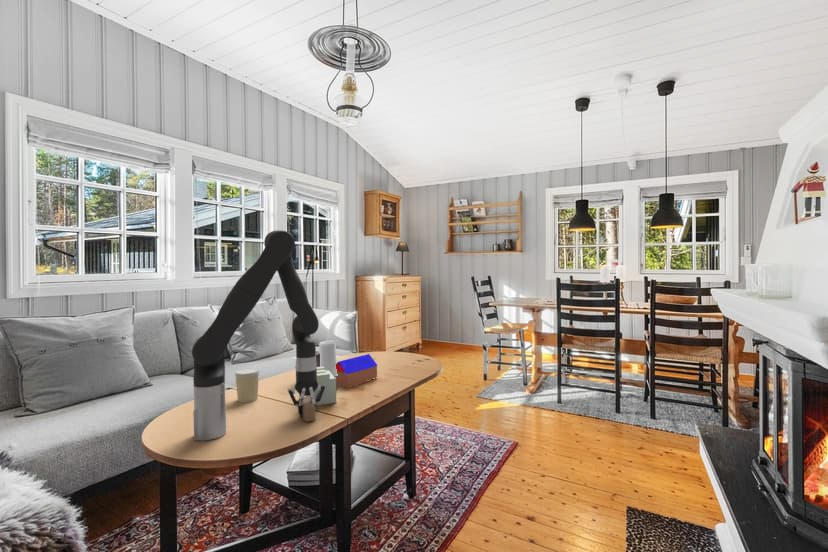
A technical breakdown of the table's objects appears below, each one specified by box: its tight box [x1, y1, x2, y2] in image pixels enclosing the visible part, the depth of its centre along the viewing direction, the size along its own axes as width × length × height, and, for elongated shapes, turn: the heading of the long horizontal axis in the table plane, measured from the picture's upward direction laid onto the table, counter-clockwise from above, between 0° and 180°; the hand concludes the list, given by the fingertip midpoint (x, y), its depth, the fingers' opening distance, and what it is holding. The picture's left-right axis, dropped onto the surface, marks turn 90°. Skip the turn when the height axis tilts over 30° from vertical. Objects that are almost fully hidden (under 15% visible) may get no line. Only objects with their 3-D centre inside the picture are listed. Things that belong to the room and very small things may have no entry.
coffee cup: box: [234, 368, 260, 403], centre depth 167 cm, size 9×9×12 cm
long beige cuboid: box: [302, 396, 316, 423], centre depth 147 cm, size 4×14×5 cm, turn 24°
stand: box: [305, 366, 337, 406], centre depth 165 cm, size 10×14×12 cm
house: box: [335, 353, 378, 388], centre depth 192 cm, size 12×20×12 cm, turn 141°
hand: (307, 413), depth 147 cm, fingers closed on long beige cuboid, 3 cm apart
